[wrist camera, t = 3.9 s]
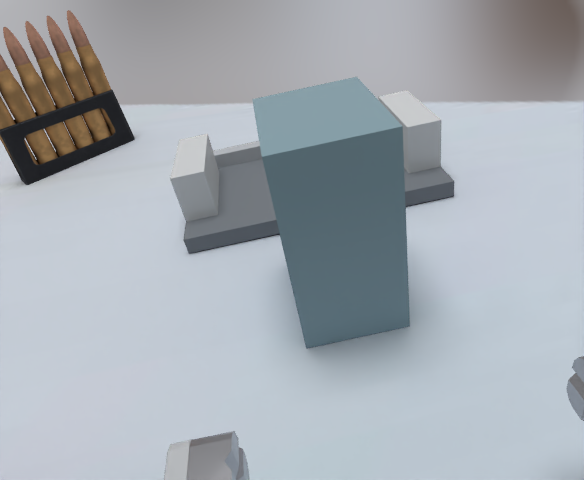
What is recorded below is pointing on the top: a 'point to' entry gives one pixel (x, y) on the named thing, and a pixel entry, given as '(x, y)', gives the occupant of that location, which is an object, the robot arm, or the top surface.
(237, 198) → the mounting board
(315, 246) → the block
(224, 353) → the top surface
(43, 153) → the ammunition clip
